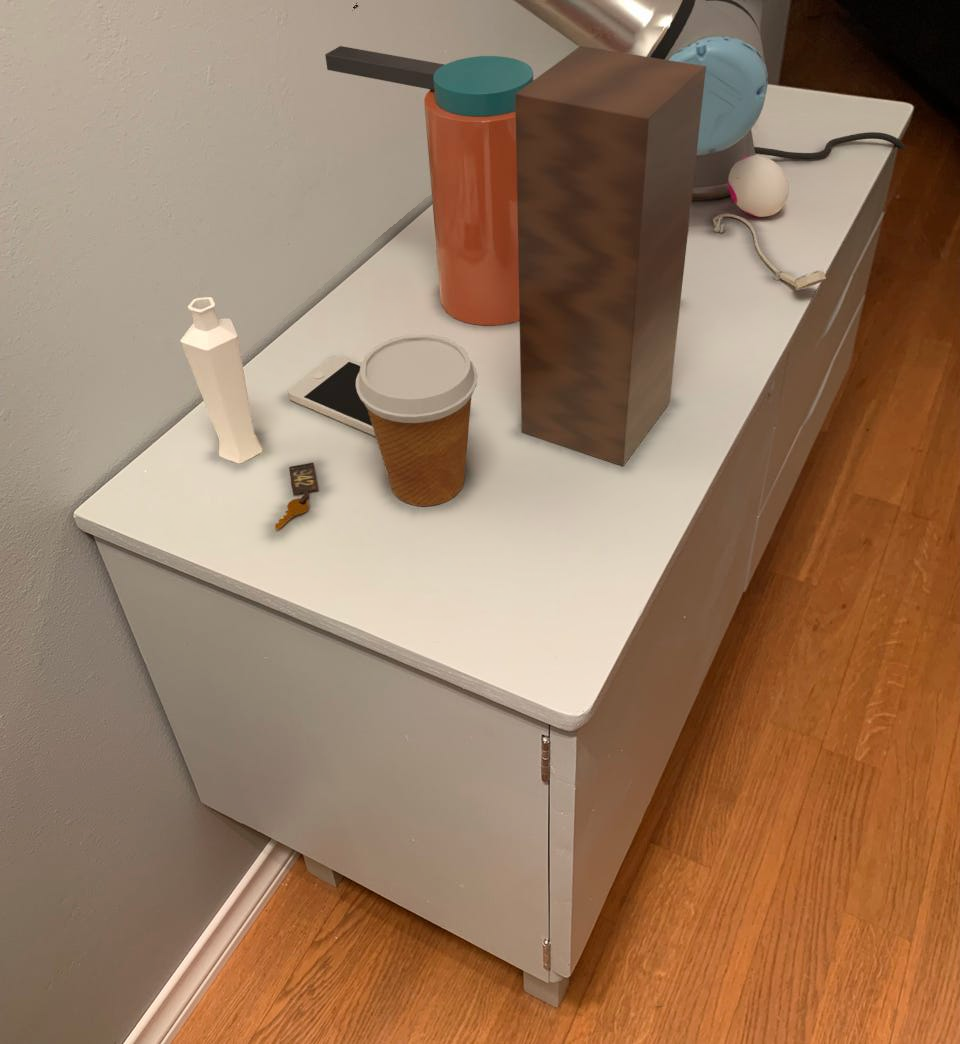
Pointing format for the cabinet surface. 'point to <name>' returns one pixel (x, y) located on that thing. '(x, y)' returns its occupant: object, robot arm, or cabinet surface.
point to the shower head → (797, 282)
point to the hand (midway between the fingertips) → (308, 15)
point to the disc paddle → (444, 78)
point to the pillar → (603, 243)
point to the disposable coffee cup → (420, 413)
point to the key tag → (299, 490)
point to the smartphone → (334, 393)
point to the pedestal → (475, 213)
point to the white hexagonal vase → (221, 380)
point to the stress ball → (758, 186)
